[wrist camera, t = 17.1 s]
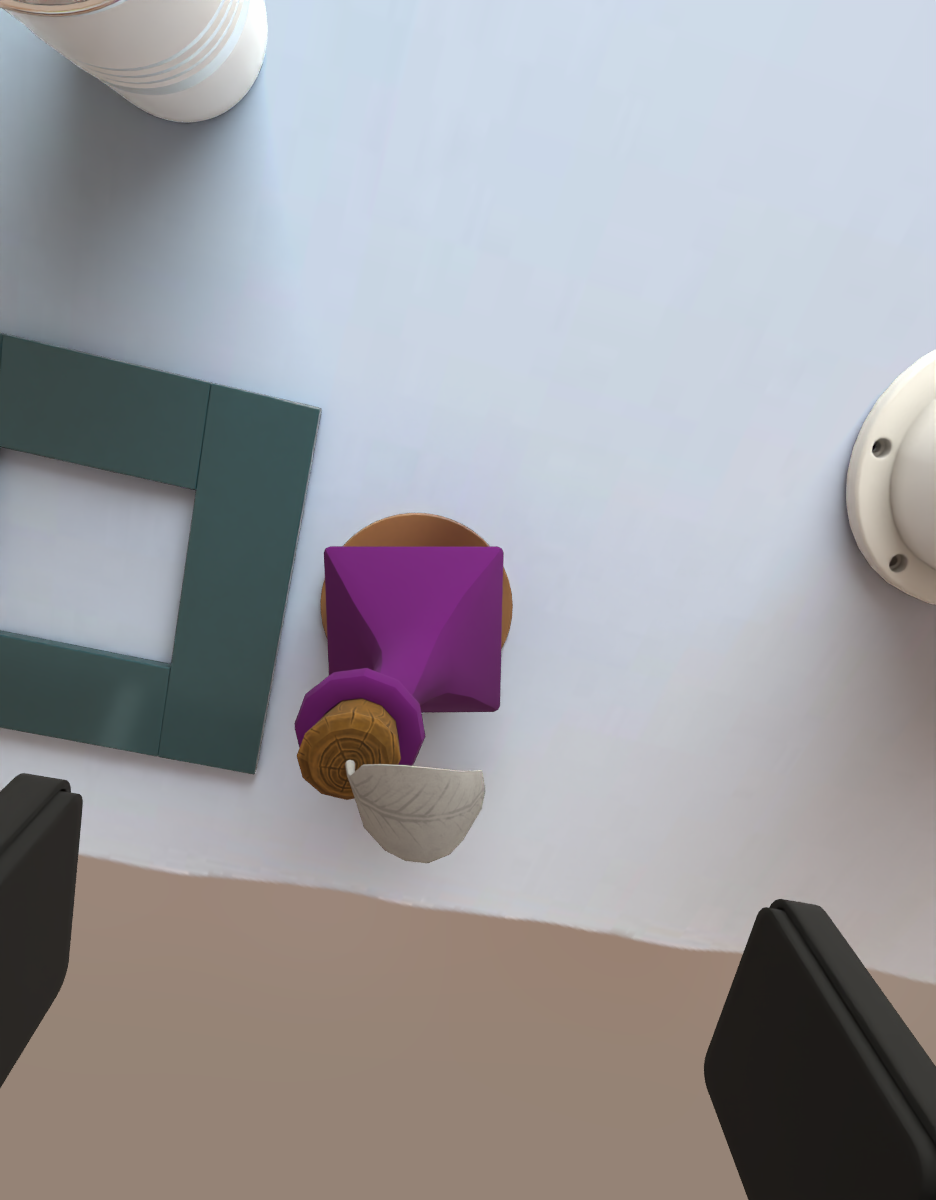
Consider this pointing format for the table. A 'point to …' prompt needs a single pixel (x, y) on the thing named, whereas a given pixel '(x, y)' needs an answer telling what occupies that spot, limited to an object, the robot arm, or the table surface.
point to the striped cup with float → (158, 48)
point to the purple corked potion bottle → (403, 687)
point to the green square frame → (213, 564)
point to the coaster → (423, 534)
